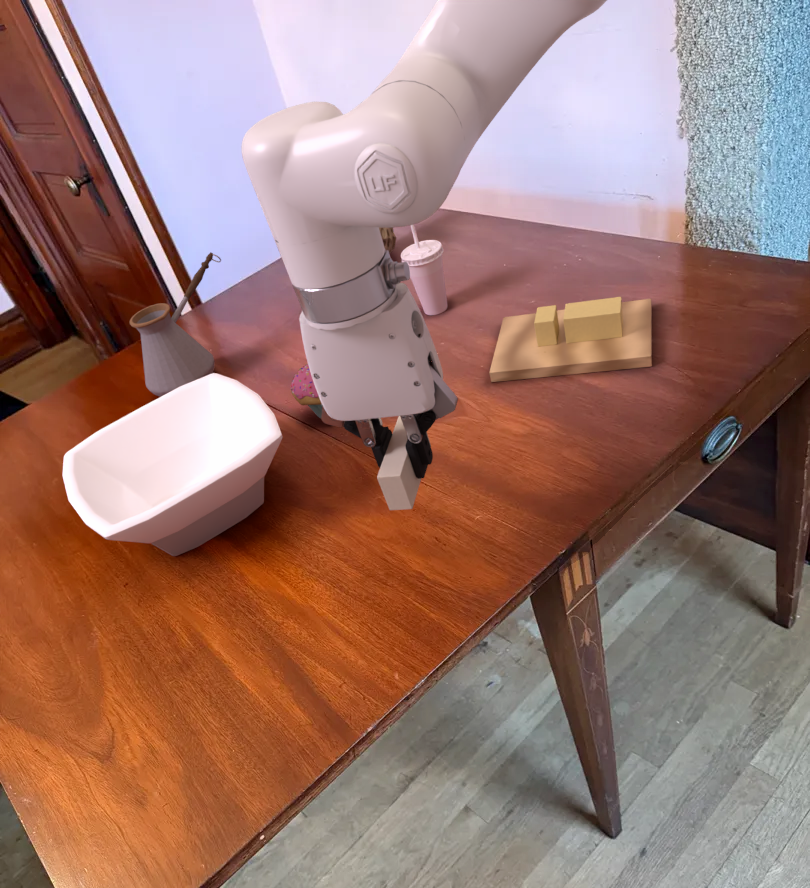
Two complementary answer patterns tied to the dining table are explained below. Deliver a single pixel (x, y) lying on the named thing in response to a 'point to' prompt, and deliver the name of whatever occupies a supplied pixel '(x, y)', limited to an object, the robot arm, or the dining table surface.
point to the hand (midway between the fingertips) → (408, 468)
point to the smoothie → (427, 273)
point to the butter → (593, 320)
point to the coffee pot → (171, 344)
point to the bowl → (176, 466)
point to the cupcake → (306, 390)
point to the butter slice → (546, 325)
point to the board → (572, 347)
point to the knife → (398, 472)
